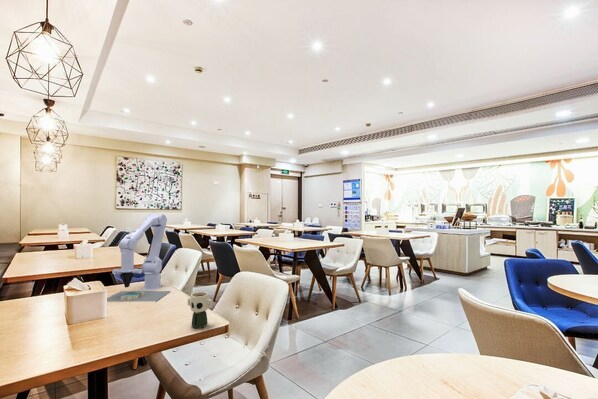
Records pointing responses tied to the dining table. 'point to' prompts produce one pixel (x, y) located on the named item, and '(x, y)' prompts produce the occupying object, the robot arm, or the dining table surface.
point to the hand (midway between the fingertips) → (127, 286)
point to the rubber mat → (146, 297)
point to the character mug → (199, 308)
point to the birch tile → (132, 295)
